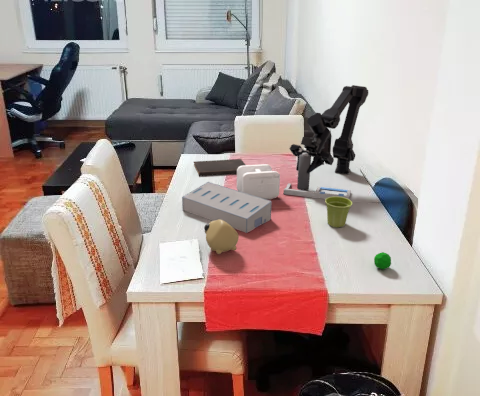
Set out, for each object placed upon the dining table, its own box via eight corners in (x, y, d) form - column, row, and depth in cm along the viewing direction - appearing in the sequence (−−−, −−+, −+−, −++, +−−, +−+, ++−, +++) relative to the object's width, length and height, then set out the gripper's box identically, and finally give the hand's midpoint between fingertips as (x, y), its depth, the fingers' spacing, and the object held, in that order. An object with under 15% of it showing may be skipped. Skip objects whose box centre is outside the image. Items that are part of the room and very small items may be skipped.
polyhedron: (387, 263, 151) (389, 249, 149) (392, 272, 147) (394, 257, 145) (371, 263, 151) (372, 249, 149) (375, 272, 146) (377, 257, 145)
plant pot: (351, 220, 180) (354, 198, 176) (347, 231, 171) (350, 208, 168) (325, 217, 182) (327, 194, 179) (320, 227, 174) (322, 204, 171)
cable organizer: (271, 190, 207) (272, 163, 202) (279, 199, 197) (280, 171, 193) (236, 192, 203) (236, 165, 199) (242, 202, 194) (243, 174, 189)
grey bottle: (298, 185, 209) (300, 151, 204) (309, 186, 208) (312, 152, 202) (296, 189, 205) (298, 154, 199) (307, 190, 204) (310, 155, 198)
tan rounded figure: (227, 239, 164) (227, 209, 160) (243, 255, 154) (244, 224, 150) (199, 244, 160) (198, 214, 156) (214, 261, 150) (214, 229, 146)
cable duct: (288, 184, 213) (289, 178, 212) (350, 191, 207) (351, 185, 206) (283, 193, 203) (283, 188, 202) (348, 201, 196) (349, 195, 195)
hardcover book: (193, 166, 235) (193, 161, 234) (241, 163, 240) (241, 158, 239) (199, 177, 221) (199, 172, 220) (249, 174, 226) (249, 169, 225)
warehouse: (182, 211, 186) (182, 192, 183) (208, 199, 196) (208, 181, 194) (246, 234, 169) (247, 213, 166) (270, 220, 179) (271, 201, 177)
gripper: (293, 125, 206) (275, 156, 202) (332, 133, 194) (315, 166, 191) (302, 139, 214) (286, 170, 211) (341, 148, 203) (324, 180, 199)
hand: (302, 171), depth 203 cm, fingers closed on grey bottle, 5 cm apart
